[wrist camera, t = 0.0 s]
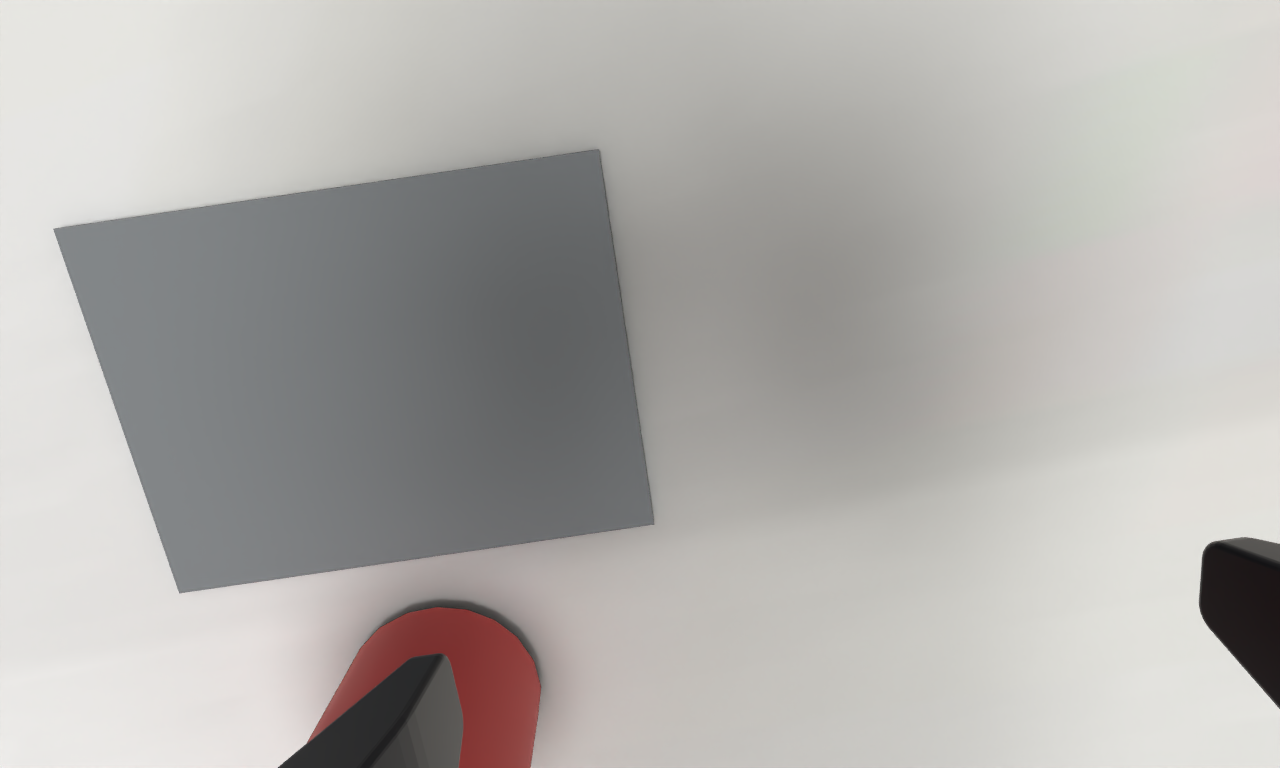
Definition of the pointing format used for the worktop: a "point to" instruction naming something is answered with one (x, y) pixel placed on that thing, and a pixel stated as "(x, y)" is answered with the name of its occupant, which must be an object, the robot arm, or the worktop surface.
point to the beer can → (458, 680)
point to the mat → (370, 369)
